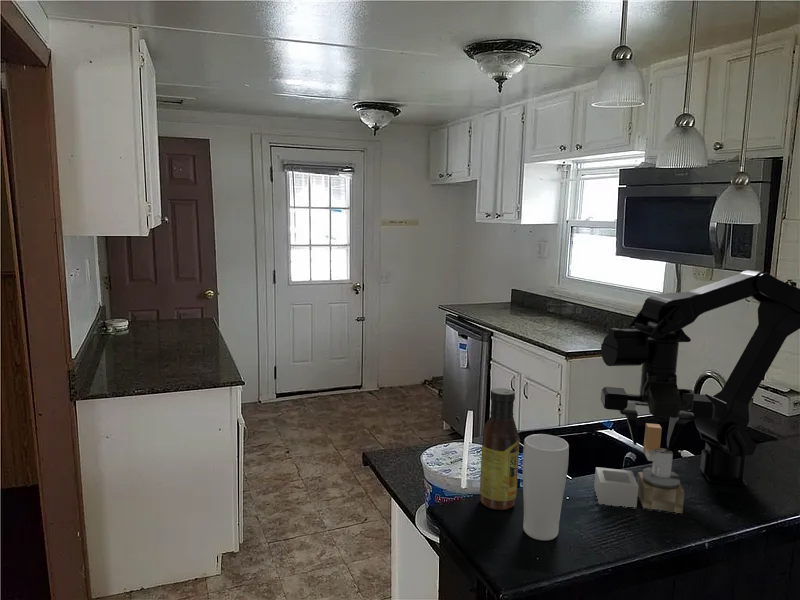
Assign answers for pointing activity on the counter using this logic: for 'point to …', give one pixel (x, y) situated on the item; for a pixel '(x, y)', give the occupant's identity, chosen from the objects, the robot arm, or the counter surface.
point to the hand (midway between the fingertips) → (651, 446)
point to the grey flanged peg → (661, 471)
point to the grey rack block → (616, 487)
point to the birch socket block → (660, 497)
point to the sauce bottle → (500, 453)
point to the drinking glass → (543, 484)
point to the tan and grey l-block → (651, 439)
